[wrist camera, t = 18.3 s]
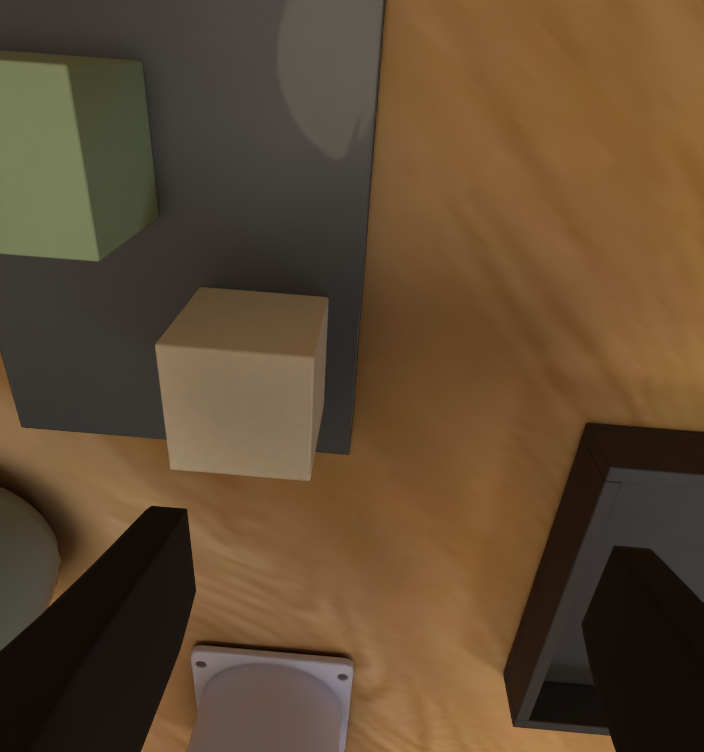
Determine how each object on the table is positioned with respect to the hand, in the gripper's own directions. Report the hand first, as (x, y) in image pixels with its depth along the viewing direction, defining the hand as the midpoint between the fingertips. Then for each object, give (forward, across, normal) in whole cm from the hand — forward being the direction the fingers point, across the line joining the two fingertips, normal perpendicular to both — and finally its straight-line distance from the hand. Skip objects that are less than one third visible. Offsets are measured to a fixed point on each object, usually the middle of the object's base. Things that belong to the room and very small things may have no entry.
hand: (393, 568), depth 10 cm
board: (+10, +7, -2) cm, 13 cm away
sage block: (+9, +9, -5) cm, 14 cm away
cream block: (+9, +4, +1) cm, 10 cm away
